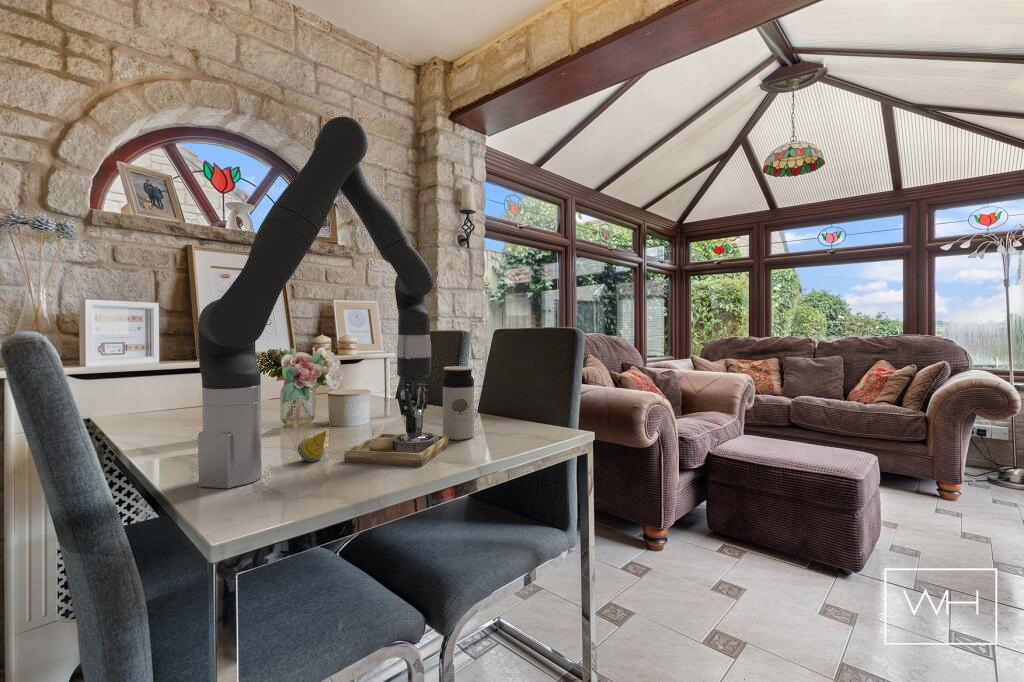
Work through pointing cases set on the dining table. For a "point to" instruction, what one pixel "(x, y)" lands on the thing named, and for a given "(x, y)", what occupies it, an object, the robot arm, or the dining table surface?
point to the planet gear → (418, 435)
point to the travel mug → (458, 403)
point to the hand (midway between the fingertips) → (414, 431)
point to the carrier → (396, 450)
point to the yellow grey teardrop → (312, 448)
